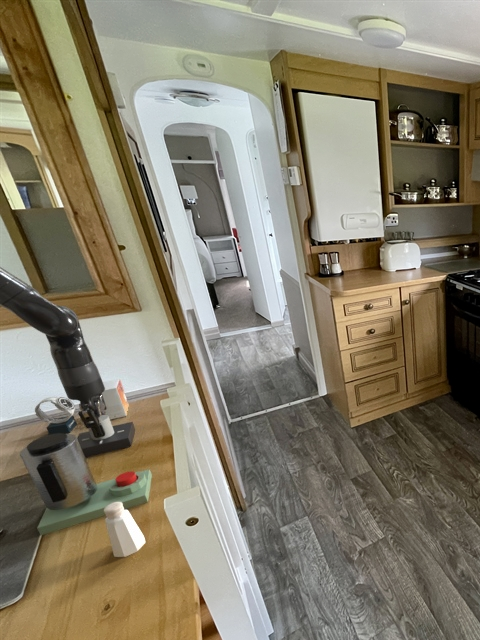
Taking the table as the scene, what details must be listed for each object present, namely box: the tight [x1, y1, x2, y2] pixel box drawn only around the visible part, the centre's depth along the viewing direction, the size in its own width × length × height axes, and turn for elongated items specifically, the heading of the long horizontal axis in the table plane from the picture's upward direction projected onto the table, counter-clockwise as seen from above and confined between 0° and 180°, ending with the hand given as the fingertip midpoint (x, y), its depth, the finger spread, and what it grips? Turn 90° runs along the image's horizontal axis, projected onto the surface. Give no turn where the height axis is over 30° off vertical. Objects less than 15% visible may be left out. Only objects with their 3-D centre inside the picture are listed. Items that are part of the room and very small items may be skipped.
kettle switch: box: [114, 470, 137, 487], centre depth 90 cm, size 4×4×2 cm
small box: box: [102, 379, 130, 421], centre depth 123 cm, size 8×6×10 cm
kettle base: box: [36, 468, 153, 536], centre depth 88 cm, size 18×11×4 cm, turn 124°
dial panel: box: [76, 421, 136, 459], centre depth 109 cm, size 12×10×3 cm
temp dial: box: [87, 415, 114, 440], centre depth 108 cm, size 5×5×6 cm
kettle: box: [19, 433, 98, 510], centre depth 82 cm, size 8×10×15 cm
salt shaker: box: [104, 502, 147, 558], centre depth 76 cm, size 5×5×11 cm
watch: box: [34, 396, 78, 435], centre depth 114 cm, size 6×8×11 cm
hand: (102, 431), depth 108 cm, fingers closed on temp dial, 5 cm apart
